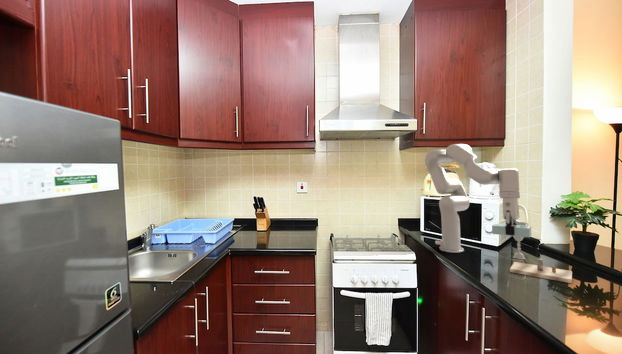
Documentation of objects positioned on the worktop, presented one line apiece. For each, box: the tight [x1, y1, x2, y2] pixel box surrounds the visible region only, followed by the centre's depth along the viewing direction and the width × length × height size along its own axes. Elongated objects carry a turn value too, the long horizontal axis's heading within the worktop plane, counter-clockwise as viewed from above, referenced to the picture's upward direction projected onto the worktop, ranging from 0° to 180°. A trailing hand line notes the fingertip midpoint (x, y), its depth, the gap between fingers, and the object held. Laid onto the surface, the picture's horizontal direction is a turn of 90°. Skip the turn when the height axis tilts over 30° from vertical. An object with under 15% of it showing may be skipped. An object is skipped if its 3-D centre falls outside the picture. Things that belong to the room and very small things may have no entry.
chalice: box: [512, 221, 528, 260], centre depth 141 cm, size 7×7×18 cm
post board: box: [509, 258, 573, 284], centre depth 120 cm, size 20×12×6 cm, turn 46°
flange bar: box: [491, 223, 532, 238], centre depth 128 cm, size 14×6×4 cm, turn 45°
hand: (511, 233), depth 128 cm, fingers closed on flange bar, 6 cm apart
